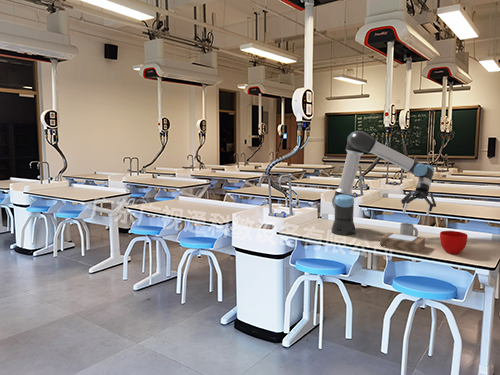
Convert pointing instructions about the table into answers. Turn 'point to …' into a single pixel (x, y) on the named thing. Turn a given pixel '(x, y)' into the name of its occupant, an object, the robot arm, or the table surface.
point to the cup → (408, 229)
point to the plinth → (402, 242)
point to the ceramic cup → (453, 241)
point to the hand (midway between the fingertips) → (415, 213)
